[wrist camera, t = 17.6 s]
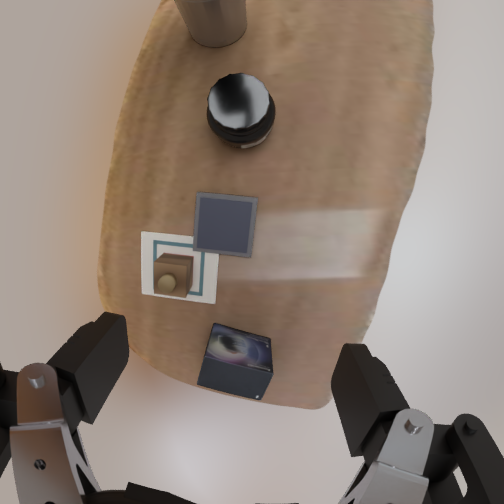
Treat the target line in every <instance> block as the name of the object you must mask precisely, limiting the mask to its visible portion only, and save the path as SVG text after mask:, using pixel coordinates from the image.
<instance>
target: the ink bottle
mask: <svg viewBox="0 0 504 504" xmlns="http://www.w3.org/2000/svg"><path fill="white" fill-rule="evenodd" d="M207 100H208V107H207V120H208V124H209V126H210V128H211V130H212V131H213V132H214V133H215V134H216V135H217V136H218V137H219V138H220V139H221V140H222V141H223V142H224V143H226V144H228V145H230V146H233V147H236V148H250V147H253V146H256V145H258V144H259V143H261V142H262V141H263V140H264V139H265V138H266V137H267V136H268V134H269V133H270V131H271V128H272V125H273V123H274V119H275V104H274V101H273V99H272V97H271V95H270V94H269V92H268V90H267V89H266V87H265V86H264V84H263V82H261V81H260V80H258V79H257V78H255V77H254V76H252V75H247V74H244V73H238V74H229V75H228V76H225V77H223V78H222V79H219V80H218V81H217V82H216V84H215V85H214V86H213V87H212V88H211V89H210V93H209V96H208V98H207Z"/></svg>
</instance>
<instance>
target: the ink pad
mask: <svg viewBox="0 0 504 504" xmlns="http://www.w3.org/2000/svg"><path fill="white" fill-rule="evenodd" d="M257 201H258V197H249V196H240V195H230V194H220V193H209V192H197V196H196V208H195V222H194V236H193V251H198V252H207V253H216V254H225V255H234V256H243V257H251V254H252V245H253V236H254V227H255V219H256V210H257Z"/></svg>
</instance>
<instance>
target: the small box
mask: <svg viewBox="0 0 504 504" xmlns="http://www.w3.org/2000/svg"><path fill="white" fill-rule="evenodd" d="M272 377H273V364H272V351H271V339H270V338H267V337H263V336H259V335H256V334H252V333H248V332H245V331H241V330H238V329H234V328H231V327H227V326H224V325H221V324H217V323H214V324H213V327H212V330H211V334H210V337H209V341H208V344H207V347H206V351H205V355H204V359H203V363H202V366H201V370H200V374H199V377H198V381H197V385H200V386H204V387H207V388H211V389H214V390H218V391H222V392H226V393H230V394H234V395H238V396H242V397H247V398H251V399H256V400H262V397H263V395H264V393H265V391H266V389H267V387H268V385H269V383H270V381H271V379H272Z"/></svg>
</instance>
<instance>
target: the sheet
mask: <svg viewBox="0 0 504 504" xmlns="http://www.w3.org/2000/svg"><path fill="white" fill-rule="evenodd" d="M163 253H171V254H179V255H188V256H194V261H193V282H192V287H191V289H190V291H189V293H188V294H187V296H186V298H182V297H175V296H168V295H161V294H154V261H155V260H156V259H157V258H159V257H160V256H161V255H162V254H163ZM218 261H219V254H216V253H207V252H198V251H193V236H185V235H175V234H166V233H156V232H146V231H141V279H142V294H147V295H153V296H160V297H166V298H173V299H180V300H188V301H195V302H203V303H211V304H215V302H216V287H217V274H218Z"/></svg>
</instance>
